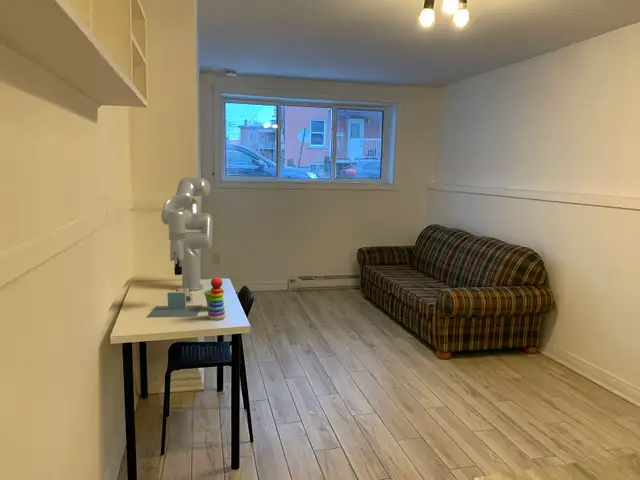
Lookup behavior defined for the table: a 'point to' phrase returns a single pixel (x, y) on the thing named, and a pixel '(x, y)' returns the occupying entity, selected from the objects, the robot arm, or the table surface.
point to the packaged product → (188, 294)
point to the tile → (176, 300)
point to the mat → (175, 311)
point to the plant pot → (207, 294)
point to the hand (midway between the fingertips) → (178, 274)
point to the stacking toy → (216, 300)
